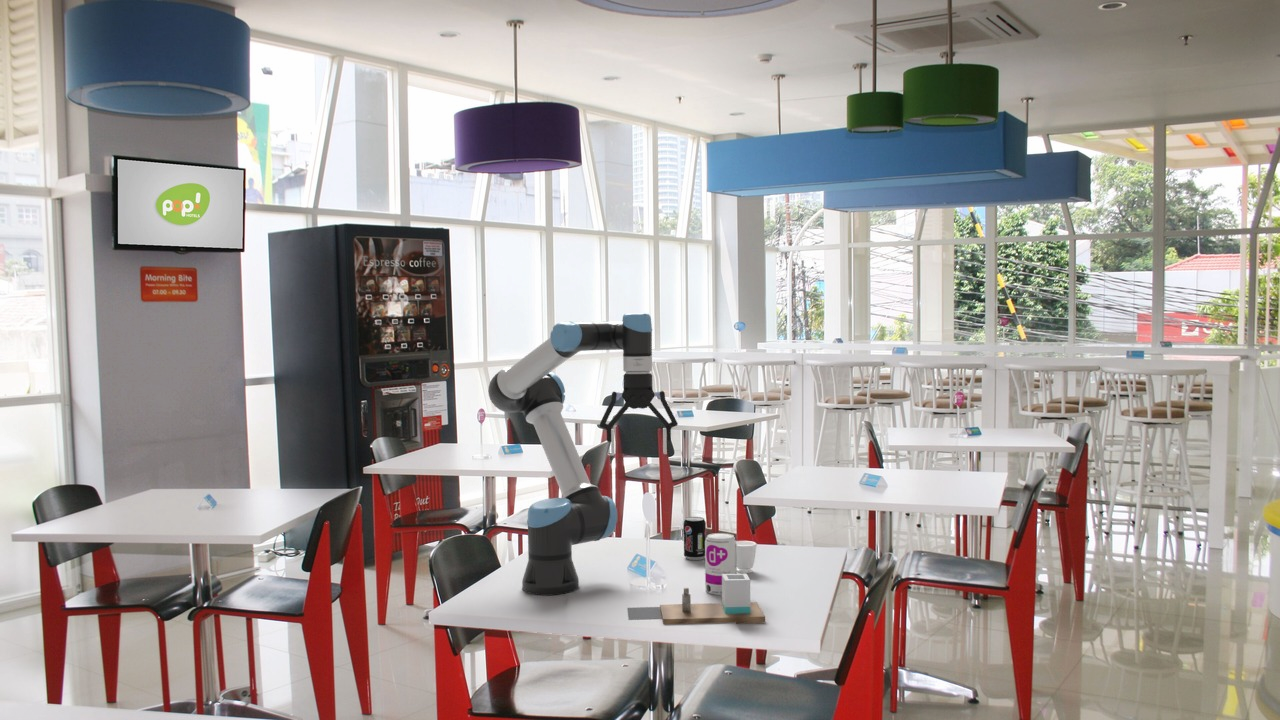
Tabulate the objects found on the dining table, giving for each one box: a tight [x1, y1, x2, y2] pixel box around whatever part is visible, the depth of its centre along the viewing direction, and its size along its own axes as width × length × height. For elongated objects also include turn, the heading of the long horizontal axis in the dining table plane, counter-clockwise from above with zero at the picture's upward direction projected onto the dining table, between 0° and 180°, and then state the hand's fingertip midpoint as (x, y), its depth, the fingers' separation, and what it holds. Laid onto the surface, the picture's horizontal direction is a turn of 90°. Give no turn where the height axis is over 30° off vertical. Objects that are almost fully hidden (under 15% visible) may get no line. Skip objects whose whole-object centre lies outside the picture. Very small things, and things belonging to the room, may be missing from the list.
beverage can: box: [683, 516, 707, 561], centre depth 296 cm, size 7×7×12 cm
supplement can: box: [704, 532, 738, 596], centre depth 257 cm, size 8×8×15 cm
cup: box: [736, 540, 758, 574], centre depth 279 cm, size 7×10×8 cm
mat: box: [626, 606, 662, 621], centre depth 238 cm, size 10×10×1 cm
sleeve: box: [721, 573, 751, 614], centre depth 236 cm, size 6×6×8 cm
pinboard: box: [659, 587, 766, 625], centre depth 236 cm, size 24×12×7 cm, turn 92°
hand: (639, 454), depth 256 cm, fingers open, 13 cm apart
